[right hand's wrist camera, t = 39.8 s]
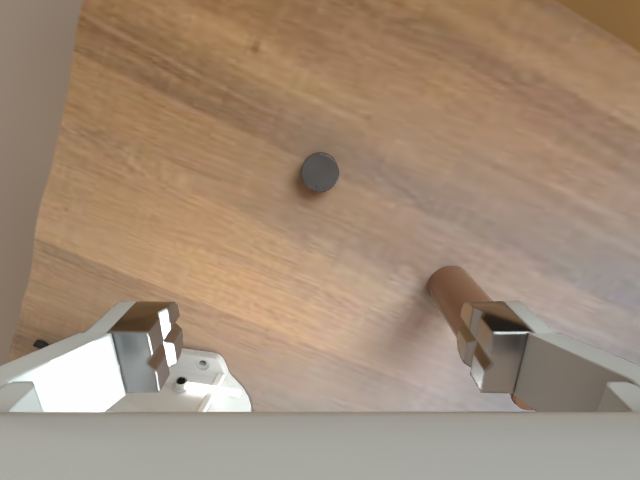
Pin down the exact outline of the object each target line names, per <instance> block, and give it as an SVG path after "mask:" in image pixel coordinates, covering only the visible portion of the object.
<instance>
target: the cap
mask: <svg viewBox="0 0 640 480" xmlns="http://www.w3.org/2000/svg"><path fill="white" fill-rule="evenodd" d="M338 177H339V169H338V166H337V163H336V161H335V160H334V158H333V157H332V156H330V155H329V154H326V153H322V152H318V153H314V154H312V155H310V156H309V157H308V158H307V159H306V160H305V162H304V164H303V167H302V179H303V181H304V183H305V185H306V186H307V187H308V188H310V189H311V190H313V191H317V192H323V191H327V190H329V189H331V188H332V187H333V186H334V185H335V184H336V182H337V180H338Z"/></svg>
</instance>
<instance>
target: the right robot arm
mask: <svg viewBox="0 0 640 480" xmlns="http://www.w3.org/2000/svg"><path fill="white" fill-rule="evenodd" d="M179 316H180V315H179V309H178V305H177V304H176V303H175V302H154V301H121V302H118V303H117V304H115V305H114V306H113V307H112V308H111V309H110V310H109V311H108V312H107V313H106V314H105V315H104V316H103V317H101V318H100V319H99V320H98V321H97V322H96V323H95V324H94V325H93V326H92V327H91V328H90V329H89V330H87V331H86V332H85V333H78V334H75V335H73V336H70V337H68V338H66V339H63V340H61V341H58V342H56V343H54V344H51V345H48V344H47V343H46V342H44V341H41V340H37V341H36V342H35V343H34V345H33V346H35V347H39V348H41V349H39V350H37V351H34V352H32V353H30V354H27V355H25V356H23V357H20V358H18V359H15V360H13V361H11V362H8V363H6V364H3V365H1V366H0V480H640V366H639V365H636V364H634V363H632V362H629V361H627V360H625V359H622V358H620V357H617V356H615V355H613V354H610V353H608V352H605V351H603V350H601V349H598V348H596V347H593V346H591V345H589V344H586V343H584V342H581V341H579V340H577V339H574V338H572V337H570V336H567V335H565V334H562V333H555V332H554V331H553V330H552V329H550V328H549V327H548V326H547V325H546V324H545V323H544V322H543V321H542V320H541V319H540V318H539V317H538V316H536V315H535V314H534V313H533V312H532V311H531V310H530V309H529V308H528V307H527V306H526V305H525V304H524V303H522V302H520V301H494V302H465V303H464V304H463V306H462V309H461V314H460V316H461V318H462V319H463V321H464V322H465V323H464V324H463V325H462V326H461V327H460V328H459V329H458V334H457V346H458V351H459V354H460V357H461V359H462V361H463V363H465V364H466V365H468V366H470V367H471V372H470V375H471V376H472V378H473V380H474V382H475V383H476V385H477V387H478V388H479V390H480V392H482V393H514V395H515V396H516V397H517V398H519V399H520V400H521V401H523V402H524V403H525V404H527V405H528V406H529V407H531V408H532V409H533V410H535V411H536V412H251V404H250V400H249V398H248V395H247V394H246V392H245V390H244V389H243V387H242V386H241V385H240V384H239V383H238V382H237V381H236V380H235V379H234V378H233V377H232V375H231V374H230V373H229V371H228V368H227V366H226V363H225V361H224V359H223V358H222V356H221V355H219V354H218V353H214V352H207V351H200V350H193V349H185V348H182V347H183V334H182V329H181V328H180V327H179V326H178V325H177V324H176V323H175V322H176V321H177V319H178V318H179ZM201 360H203V361H205V362H203V361H201Z"/></svg>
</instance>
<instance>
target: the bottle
mask: <svg viewBox="0 0 640 480" xmlns="http://www.w3.org/2000/svg"><path fill="white" fill-rule="evenodd" d="M428 288H429V293H430V295H431V296H432V298H433V300H434V301H435V303H436V305H437V306H438V308H439V310H440V311H441V313H442V315H443V316H444V318H445V320H446V321H447V323H448V325H449V326H450V328H451V329H452V331H453V333H454V334H455V336H456V338H457V334H458V329H459V328H460V327H461V326H462V325H463V324H464V323H465V322H464V321H463V319H462V318H461V316H460V314H461V309H462V306H463V304H464V303H465V302H494V301H493V300H492V299H491V298H490V297H489V296H488V295H487V294H486V293H485V292H484V290H483V289H482V288H481V287H480V286H479V285H478V284H477V283H476V282H475V281H474V280H473V278H472V277H471V276H470V275H469V274H468V273H467V272H466V271H465V270H464V269H462V268H460V267H457V266H447V267H444V268H441V269H439V270H438V271H437V272H435V273H434V274H433V276H432V277H431V279H430V281H429V286H428ZM509 394H510V395H511V399H512V400H513V402H514V403H515V404H516V405H517V406H518V407H520V408H522V409H524V410H533V409H532V408H531V407H529V406H528V405H527V404H525V403H524V402H523V401H521V400H520V399H519V398H517V397H516V396H515V395H514V393H509Z"/></svg>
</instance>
